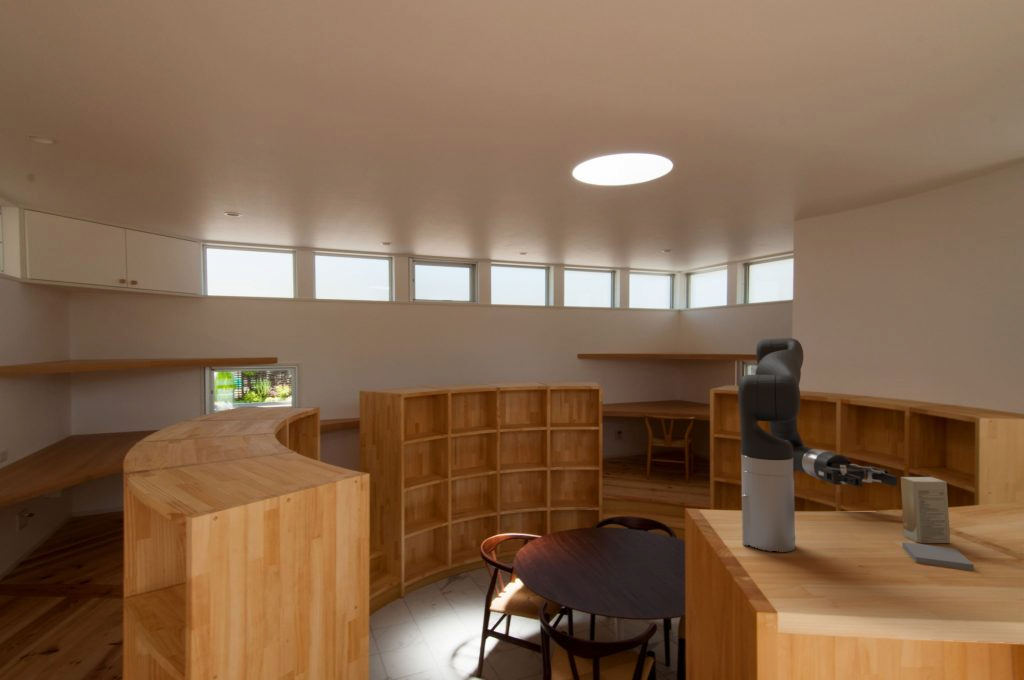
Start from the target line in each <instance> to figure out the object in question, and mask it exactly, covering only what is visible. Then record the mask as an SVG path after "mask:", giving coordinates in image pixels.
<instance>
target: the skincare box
mask: <svg viewBox="0 0 1024 680" xmlns="http://www.w3.org/2000/svg"><path fill="white" fill-rule="evenodd" d="M900 486H901V487H900V489H901V503H902V504H901V506H902V507H901V508H902V511H901V512H902V525H903V526H902V528H903V536H904V537H905V538H908V539H910V540H912V541H914V542H916V543H917V544H951V534H950V533H951V532H950V516H949V515H950V514H949V501H948V500H949V499H948V485H947V481H945V480H942V479H940V478H939V479H938V478H935V477H933V476H900Z"/></svg>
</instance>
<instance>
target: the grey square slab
mask: <svg viewBox="0 0 1024 680" xmlns="http://www.w3.org/2000/svg"><path fill="white" fill-rule="evenodd" d="M901 545H902V546H901V547H902V548H903V550H904V551H905V552H906V553H907V555H908V556H910V558H911V559H912V560H913V561H914V563H917V564H924V565H930V566H937V567H938V566H939V567H945V568H953V569H958V570H959V569H961V570H966V571H975V568H974V567H975V564H974V563H973V562H972V561H970V560H969V559H968V558H967V557H966V556H964V555H963V554H962V553H961V552H960V551H959V550H958V549H956V548H955V547H954V548H953V547H945V546H944V547H943V546H937V545H929V544H928V545H927V544H923V543H913V542H906V541H905V542H904V541H902V542H901Z"/></svg>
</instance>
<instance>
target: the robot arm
mask: <svg viewBox="0 0 1024 680" xmlns="http://www.w3.org/2000/svg"><path fill="white" fill-rule="evenodd" d="M755 355H756V356H755V357H756V363H757V365H756V368H755V373H754V374H746V375H742V376H741V378H740V380H739V382H738V390H737V391H738V392H737V396H738V409H739V420H740V421H739V424H740V457H741V458H740V460H741V461H740V462H741V463H740V465H741V466H740V467H741V519H742V520H741V521H742V523H741V526H742V527H741V529H742V545H743V546H748V545H750V546H749V547H752V548H754V547H755V548H754V549H757V548H758V550H760V551H761V550H762V551H766V550H767V552H772V551H777V552H776V553H785V552H786V553H788V552H792V551H794V550H795V549H796V521H795V519H796V517H795V479H794V477H795V476H794V472H802V473H805V474H808V475H810V476H812V477H813V478H815V479H818V480H820V481H821V480H822V481H824V482H827V483H829V484H833V485H836V486H840V485H851V486H854V487H856V488H862V487H863V483H870V484H871V483H873V482H876V483H881V484H884V485H885V484H886V485H888V486H892V487H897V486H898V477H897V476H896V475H892V474H890V470H888V469H883V468H879V467H876V466H871V465H865V466H864V465H863V466H862V465H858V464H856V463H852V462H851V461H850V459H849V458H848V457H847V456H846V455H842V454H841V453H840V454H839V453H836V452H832V451H828V450H824V449H818V448H817V449H816V448H812V447H809V446H806V445H804V443H803V440H802V438H801V436H800V433H799V431H798V430H799V429H798V418H797V417H798V415H799V412H800V409H801V402H802V401H801V390H800V383H801V377H802V375H801V374H802V372H801V371H802V370H801V369H802V367H803V364H804V349H803V347H802V344H801V343H800V341H799V340H797V339H796V338H791V337H786V338H767V339H764V338H763V339H761V340H759V341H758V342H757V344H756V353H755ZM759 422H768V426H769V428H768V429H769V432H770V433H769V432H768V431H766V430H765V429H763V428H762V427H761V426H760V424H759ZM865 476H866V477H867V478H865ZM778 551H779V552H778Z"/></svg>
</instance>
